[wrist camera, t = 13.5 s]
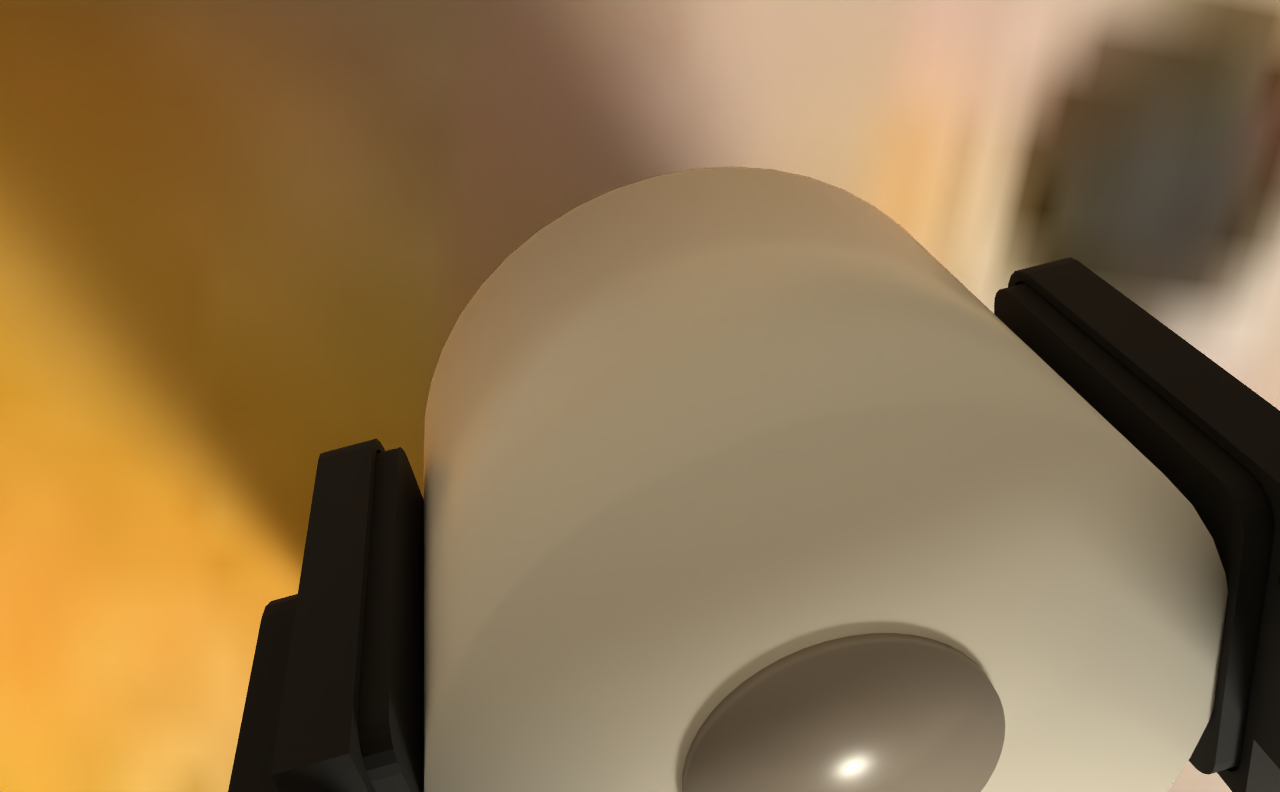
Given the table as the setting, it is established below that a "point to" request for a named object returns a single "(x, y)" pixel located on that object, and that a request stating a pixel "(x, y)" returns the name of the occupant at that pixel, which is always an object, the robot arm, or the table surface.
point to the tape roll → (788, 522)
